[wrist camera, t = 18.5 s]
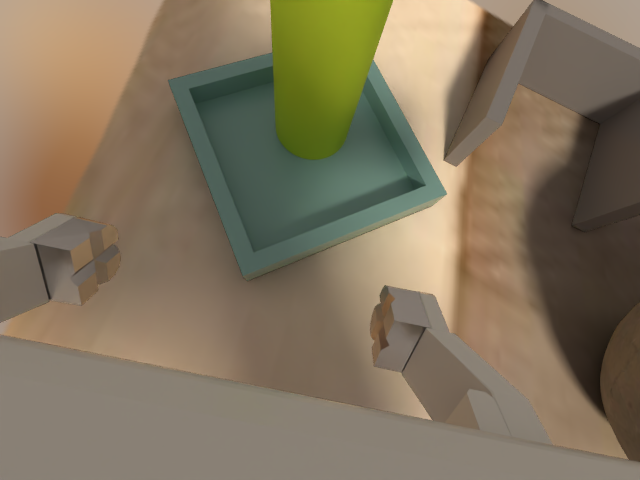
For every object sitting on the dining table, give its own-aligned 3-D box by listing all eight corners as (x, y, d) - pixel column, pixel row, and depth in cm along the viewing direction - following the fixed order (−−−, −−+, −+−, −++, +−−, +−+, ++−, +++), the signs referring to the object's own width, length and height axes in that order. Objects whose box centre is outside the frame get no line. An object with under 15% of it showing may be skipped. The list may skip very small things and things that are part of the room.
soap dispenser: (339, 85, 27) (475, -485, 8) (352, 157, 26) (559, -337, 6) (271, 87, 26) (236, -542, 7) (279, 162, 25) (264, -388, 6)
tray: (247, 281, 23) (242, 276, 21) (178, 102, 26) (167, 80, 24) (432, 205, 26) (447, 194, 24) (351, 54, 29) (357, 30, 27)
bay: (584, 231, 27) (665, 207, 21) (443, 160, 27) (486, 116, 22) (614, 120, 31) (690, 73, 25) (489, 58, 31) (535, -3, 25)
